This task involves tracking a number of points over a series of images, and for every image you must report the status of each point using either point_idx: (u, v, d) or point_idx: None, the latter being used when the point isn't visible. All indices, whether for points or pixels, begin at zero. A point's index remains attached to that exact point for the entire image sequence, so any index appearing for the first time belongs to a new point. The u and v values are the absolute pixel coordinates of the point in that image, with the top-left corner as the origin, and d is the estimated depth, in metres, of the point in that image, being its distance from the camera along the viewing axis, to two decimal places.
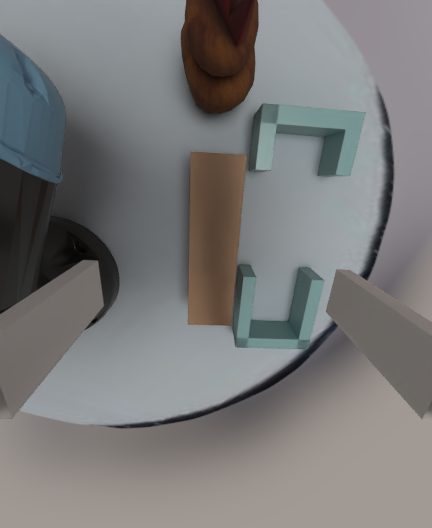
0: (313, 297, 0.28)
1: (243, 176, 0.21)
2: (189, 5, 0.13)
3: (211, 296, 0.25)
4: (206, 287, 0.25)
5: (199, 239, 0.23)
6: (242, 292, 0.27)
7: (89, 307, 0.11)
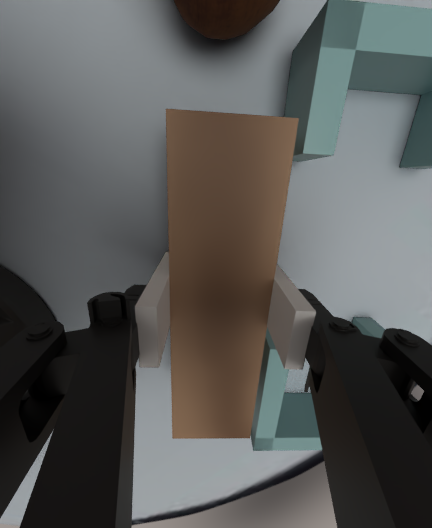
0: None
1: (288, 168, 0.09)
2: None
3: (214, 394, 0.14)
4: (205, 381, 0.13)
5: (192, 300, 0.11)
6: (267, 372, 0.16)
7: None
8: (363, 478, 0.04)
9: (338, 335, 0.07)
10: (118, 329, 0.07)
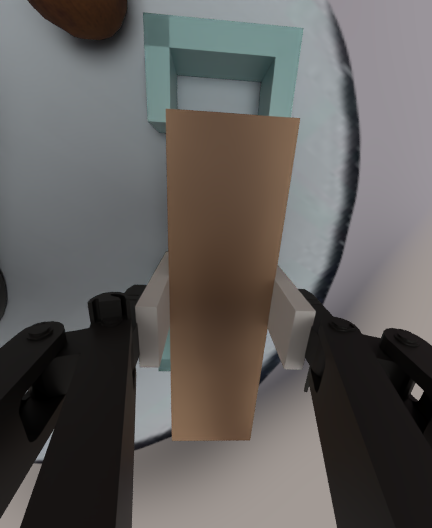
0: None
1: (289, 169, 0.09)
2: None
3: (214, 397, 0.13)
4: (204, 383, 0.13)
5: (191, 301, 0.11)
6: None
7: None
8: (362, 477, 0.04)
9: (338, 335, 0.07)
10: (118, 329, 0.07)
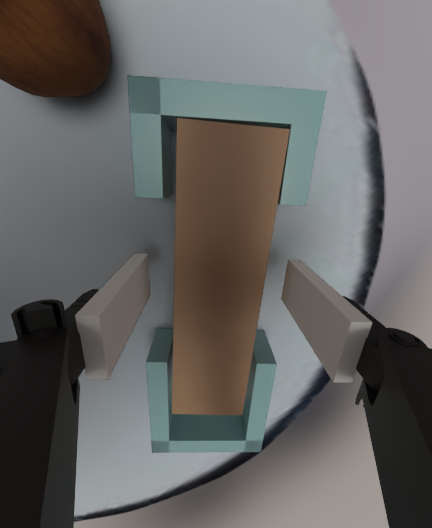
0: (262, 387, 0.18)
1: (280, 171, 0.11)
2: None
3: (211, 373, 0.15)
4: (203, 360, 0.15)
5: (193, 285, 0.13)
6: (149, 382, 0.17)
7: (143, 295, 0.13)
8: (428, 494, 0.04)
9: (400, 348, 0.07)
10: (52, 339, 0.06)
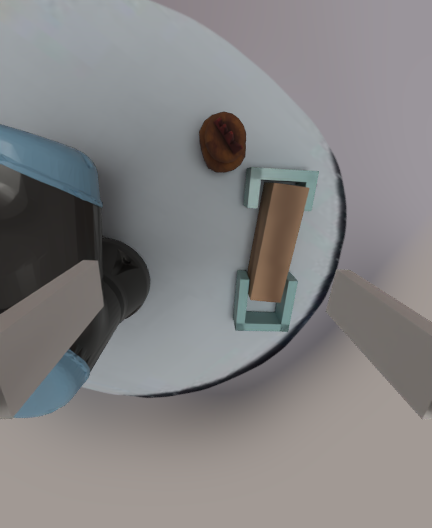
0: (290, 293, 0.39)
1: (305, 200, 0.32)
2: (208, 134, 0.24)
3: (270, 280, 0.36)
4: (267, 273, 0.36)
5: (269, 240, 0.34)
6: (239, 290, 0.38)
7: (89, 307, 0.11)
8: None
9: None
10: None
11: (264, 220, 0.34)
